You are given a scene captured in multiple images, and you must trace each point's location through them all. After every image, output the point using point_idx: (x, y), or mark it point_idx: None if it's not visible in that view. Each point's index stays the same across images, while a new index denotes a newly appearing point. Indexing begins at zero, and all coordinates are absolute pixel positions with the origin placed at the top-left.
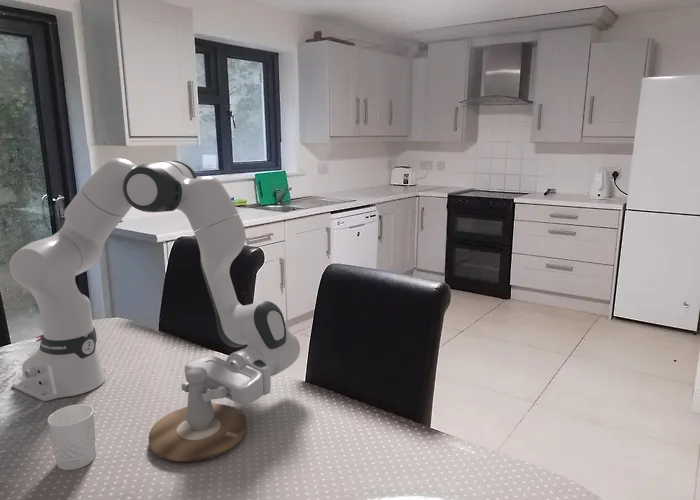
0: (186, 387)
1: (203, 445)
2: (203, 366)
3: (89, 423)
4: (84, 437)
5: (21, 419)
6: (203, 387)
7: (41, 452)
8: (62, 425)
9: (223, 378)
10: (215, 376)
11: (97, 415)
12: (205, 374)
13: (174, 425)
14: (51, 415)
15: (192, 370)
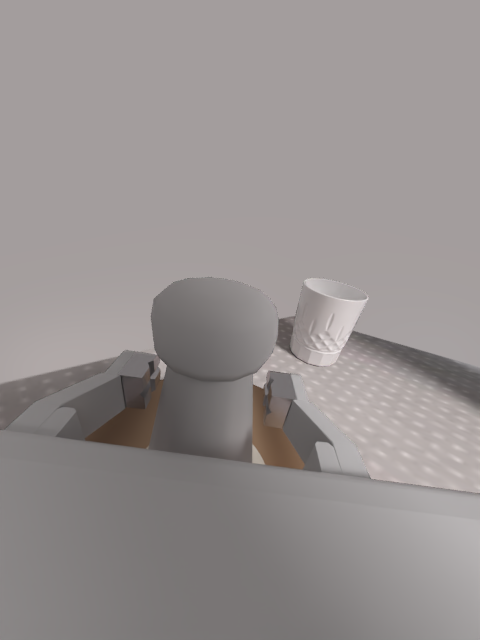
0: (266, 377)
1: (131, 426)
2: (475, 616)
3: (307, 299)
4: (298, 310)
5: (471, 373)
6: (167, 370)
7: (357, 347)
8: (309, 278)
9: (32, 480)
10: (147, 471)
11: (456, 430)
12: (153, 311)
13: (274, 455)
14: (349, 286)
15: (235, 284)
